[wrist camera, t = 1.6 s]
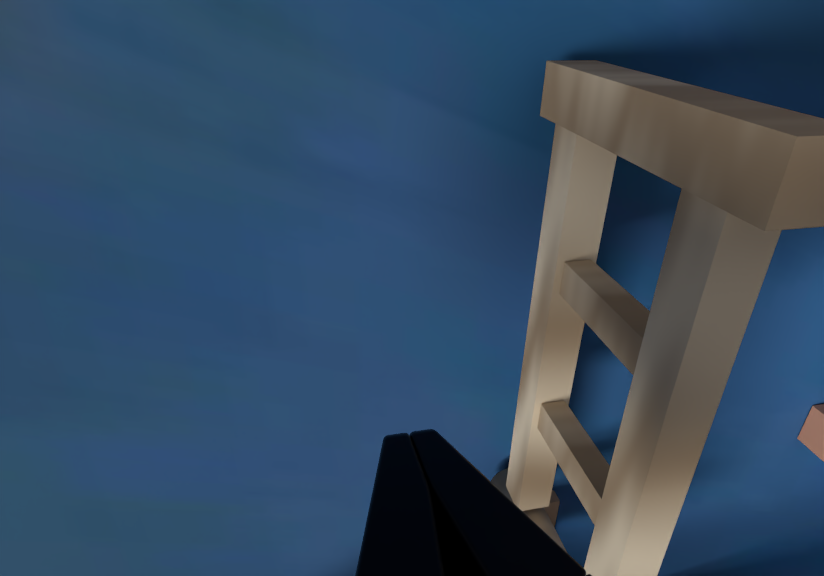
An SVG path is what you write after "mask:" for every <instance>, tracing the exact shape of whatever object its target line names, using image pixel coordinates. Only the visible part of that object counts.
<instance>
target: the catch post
mask: <svg viewBox="0 0 824 576" xmlns="http://www.w3.org/2000/svg"><path fill="white" fill-rule="evenodd" d="M797 439H798V440H800V441H801V442H802V443H803V444H804V445H805V446H806V447H808V448H809V449H810V450H811V451H812V452H813V453H814V454H816V455H817V456H818V457H819V458H820V459H821V460H822V461H824V404H821V405H814V406H812V408H811V410H810V412H809V415H808V417H807V419H806V421H805V423H804V425H803V427H802V430H801V432H800V434H799V436H798V438H797Z"/></svg>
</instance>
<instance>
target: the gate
mask: <svg viewBox="0 0 824 576" xmlns="http://www.w3.org/2000/svg"><path fill="white" fill-rule="evenodd" d="M540 116H542V117H544V118H546V119H548V120H550V121H552V122H554V123H555V124H556V125H555V132H554V140H553V147H552V154H551V161H550V169H549V176H548V183H547V190H546V198H545V205H544V212H543V220H542V227H541V234H540V241H539V249H538V256H537V263H536V270H535V278H534V285H533V292H532V299H531V307H530V314H529V321H528V329H527V336H526V343H525V350H524V358H523V365H522V372H521V379H520V387H519V394H518V401H517V409H516V416H515V423H514V430H513V438H512V445H511V452H510V459H509V467H508V468H507V469H504V470H502V471H500V472H499V473H497V474H496V475H495V476H494V477H493V479H492V480H491V483H493V484H494V485H495V486H496V487H497V488H498V489H499V490H500V491H501V492H502V493H503V494H504V495H505V496H507V497H508V498H509V499H510V500H511V501H512V502H513V503H514V504H515V505H516V506H517V507H518V508H519V509H520V510H522V511H523V512H524V513H525V514H526V515H527V516H528V517H529V518H530V519H531V520H532V521H533V522H534V523H536V524H537V525H538V526H539V527H540V528H541V529H542V530H543V531H544V532H545V533H546V534H547V535H548V536H550V537H551V538H552V539H553V540H554V541H555V542H556V543H557V544H558V545H559V546H560V547H561V548H562V549H563V550H565V551H566V549H565V547H564V545H563V544H562V542H561V540H560V538H559V536H558V534H557V532H556V530H555V528H554V526H553V524H552V522H551V520H550V518H549V516H548V514H547V512H546V510H545V508H544V507H548V506H549V503H550V497H551V492H552V487H553V482H554V477H555V472H556V467H557V462H558V464H559V466H560V467H561V469H562V471H563V472H564V474H565V476H566V477H567V479H568V481H569V483H570V484H571V486H572V488H573V489H574V491H575V493H576V494H577V496H578V498H579V500H580V501H581V503H582V505H583V506H584V508H585V510H586V511H587V513H588V515H589V517H590V518H591V520H592V522H593V523H594V525H595V527H594V531H593V534H592V538H591V542H590V546H589V550H588V554H587V558H586V562H585V566H584V569H585V570H586V575H587V574H591V575H592V576H657V575H658V572H659V569H660V566H661V564H662V561H663V558H664V555H665V552H666V550H667V547H668V544H669V541H670V539H671V536H672V533H673V530H674V527H675V525H676V522H677V519H678V516H679V514H680V511H681V508H682V505H683V502H684V500H685V497H686V494H687V491H688V489H689V486H690V483H691V480H692V477H693V475H694V472H695V469H696V466H697V464H698V461H699V458H700V455H701V452H702V450H703V447H704V444H705V441H706V439H707V436H708V433H709V430H710V427H711V425H712V422H713V419H714V416H715V414H716V411H717V408H718V405H719V403H720V400H721V397H722V394H723V391H724V389H725V386H726V383H727V380H728V378H729V375H730V372H731V369H732V366H733V364H734V361H735V358H736V355H737V353H738V350H739V347H740V344H741V341H742V339H743V336H744V333H745V330H746V328H747V325H748V322H749V319H750V316H751V314H752V311H753V308H754V305H755V303H756V300H757V297H758V294H759V291H760V289H761V286H762V283H763V280H764V278H765V275H766V272H767V269H768V266H769V264H770V261H771V258H772V255H773V253H774V250H775V247H776V244H777V242H778V239H779V236H780V233H781V230H787V229H799V228H812V227H824V119H823V118H819V117H815V116H811V115H808V114H804V113H800V112H796V111H792V110H788V109H784V108H780V107H776V106H772V105H769V104H765V103H761V102H757V101H753V100H749V99H745V98H741V97H737V96H733V95H729V94H726V93H722V92H718V91H714V90H710V89H706V88H702V87H698V86H694V85H690V84H686V83H683V82H679V81H675V80H671V79H667V78H663V77H659V76H655V75H651V74H647V73H644V72H640V71H636V70H632V69H628V68H624V67H620V66H616V65H612V64H608V63H604V62H601V61H597V60H566V61H547V62H546V70H545V78H544V87H543V95H542V103H541V111H540ZM617 155H618V156H619V157H621V158H623V159H625V160H627V161H629V162H631V163H633V164H635V165H637V166H639V167H641V168H643V169H645V170H647V171H649V172H651V173H652V174H654V175H656V176H658V177H660V178H662V179H664V180H666V181H668V182H670V183H672V184H674V185H676V186H678V187H680V188H682V189H681V193H680V197H679V201H678V205H677V209H676V213H675V216H674V220H673V224H672V228H671V232H670V236H669V240H668V244H667V247H666V251H665V255H664V259H663V263H662V267H661V271H660V275H659V279H658V282H657V286H656V290H655V294H654V298H653V302H652V306H651V310H650V311H649V310H648V309H646V308H645V307H644V306H643V305H642V304H641V303H640V302H639V301H637V300H636V299H635V298H634V297H633V296H632V295H631V294H630V293H628V292H627V291H626V290H625V289H624V288H623V287H622V286H620V285H619V284H618V283H617V282H616V281H615V280H614V279H613V278H611V277H610V276H609V275H608V274H607V273H606V272H605V271H604V270H602V269H601V268H600V267H599V266H598V265H597V264H596V261H597V256H598V250H599V245H600V240H601V235H602V230H603V225H604V220H605V214H606V209H607V204H608V199H609V194H610V189H611V184H612V178H613V173H614V168H615V163H616V158H617ZM584 323H586V324H587V325H588V326H589V327H590V328H591V329H592V330H593V331H594V333H595V334H596V335H597V336H598V337H599V338H600V339H601V340H602V341H603V342H604V344H605V345H606V346H607V347H608V348H609V349H610V350H611V351H612V352H613V354H614V355H615V356H616V357H617V358H618V359H619V360H620V361H621V362H622V363H623V365H624V366H625V367H626V368H627V369H628V370H629V371H630V372H631V373H632V374H633V379H632V383H631V387H630V391H629V395H628V399H627V403H626V406H625V410H624V414H623V418H622V422H621V426H620V430H619V434H618V438H617V441H616V445H615V449H614V453H613V457H612V461H611V465H610V466H609V464H608V463H607V461H606V460H605V458H604V457H603V456H602V454H601V453H600V451H599V450H598V448H597V447H596V445H595V444H594V443H593V441H592V440H591V438H590V437H589V435H588V434H587V432H586V431H585V430H584V428H583V427H582V425H581V424H580V422H579V421H578V419H577V418H576V417H575V415H574V414H573V412H572V411H571V409H570V408H569V406H568V405H569V400H570V395H571V389H572V384H573V379H574V374H575V369H576V364H577V359H578V353H579V348H580V343H581V338H582V333H583V328H584ZM566 552H567V551H566Z"/></svg>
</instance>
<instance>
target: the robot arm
mask: <svg viewBox="0 0 824 576" xmlns="http://www.w3.org/2000/svg"><path fill="white" fill-rule="evenodd" d="M356 576H592V575H591V574H587V575H586V570H585V569H584V568H583V567H582V566H581V565H580V564H579V563H577V562H576V561H575V560H574V559H573V558H572V557H571V556H570V555H569V554H568V553H567V552H566V551H565V550H563V549H562V548H561V547H560V546H559V545H558V544H557V543H556V542H555V541H554V540H553V539H552V538H551V537H550V536H548V535H547V534H546V533H545V532H544V531H543V530H542V529H541V528H540V527H539V526H538V525H537V524H536V523H534V522H533V521H532V520H531V519H530V518H529V517H528V516H527V515H526V514H525V513H524V512H523V511H522V510H520V509H519V508H518V507H517V506H516V505H515V504H514V503H513V502H512V501H511V500H510V499H509V498H508V497H507V496H505V495H504V494H503V493H502V492H501V491H500V490H499V489H498V488H497V487H496V486H495V485H494V484H493V483H491V482H490V481H489V480H488V479H487V478H486V477H485V476H484V475H483V474H482V473H481V472H480V471H479V470H477V469H476V468H475V467H474V466H473V465H472V464H471V463H470V462H469V461H468V460H467V459H466V458H465V457H464V456H462V455H461V454H460V453H459V452H458V451H457V450H456V449H455V448H454V447H453V446H452V445H451V444H450V443H448V442H447V441H446V440H445V439H444V438H443V437H442V436H441V435H440V434H439V433H438V432H437V431H435V430H433V429H428V430H421V431H414V432H412V433H411V434H410V435H408V434H407V433H400V434H393V435H387V436H385V437H384V439H383V444H382V449H381V453H380V458H379V463H378V468H377V473H376V478H375V483H374V488H373V493H372V497H371V502H370V507H369V512H368V517H367V522H366V527H365V532H364V537H363V541H362V546H361V551H360V556H359V561H358V566H357V571H356Z"/></svg>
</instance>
